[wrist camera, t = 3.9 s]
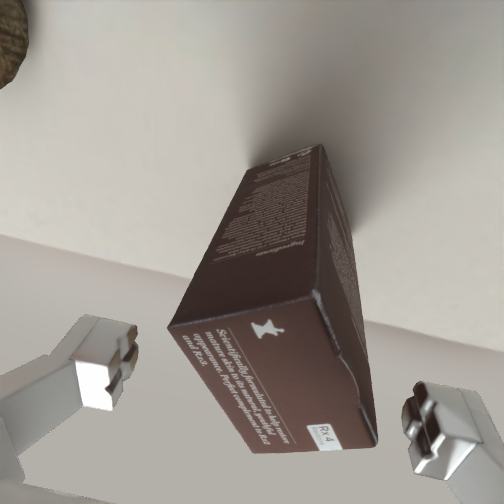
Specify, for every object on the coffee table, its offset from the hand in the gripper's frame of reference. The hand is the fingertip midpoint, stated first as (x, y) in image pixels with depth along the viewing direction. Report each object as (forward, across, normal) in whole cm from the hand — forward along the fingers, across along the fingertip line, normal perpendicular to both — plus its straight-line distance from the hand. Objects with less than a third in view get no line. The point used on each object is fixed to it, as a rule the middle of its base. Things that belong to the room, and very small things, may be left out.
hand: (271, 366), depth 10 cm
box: (+11, 0, 0) cm, 11 cm away
